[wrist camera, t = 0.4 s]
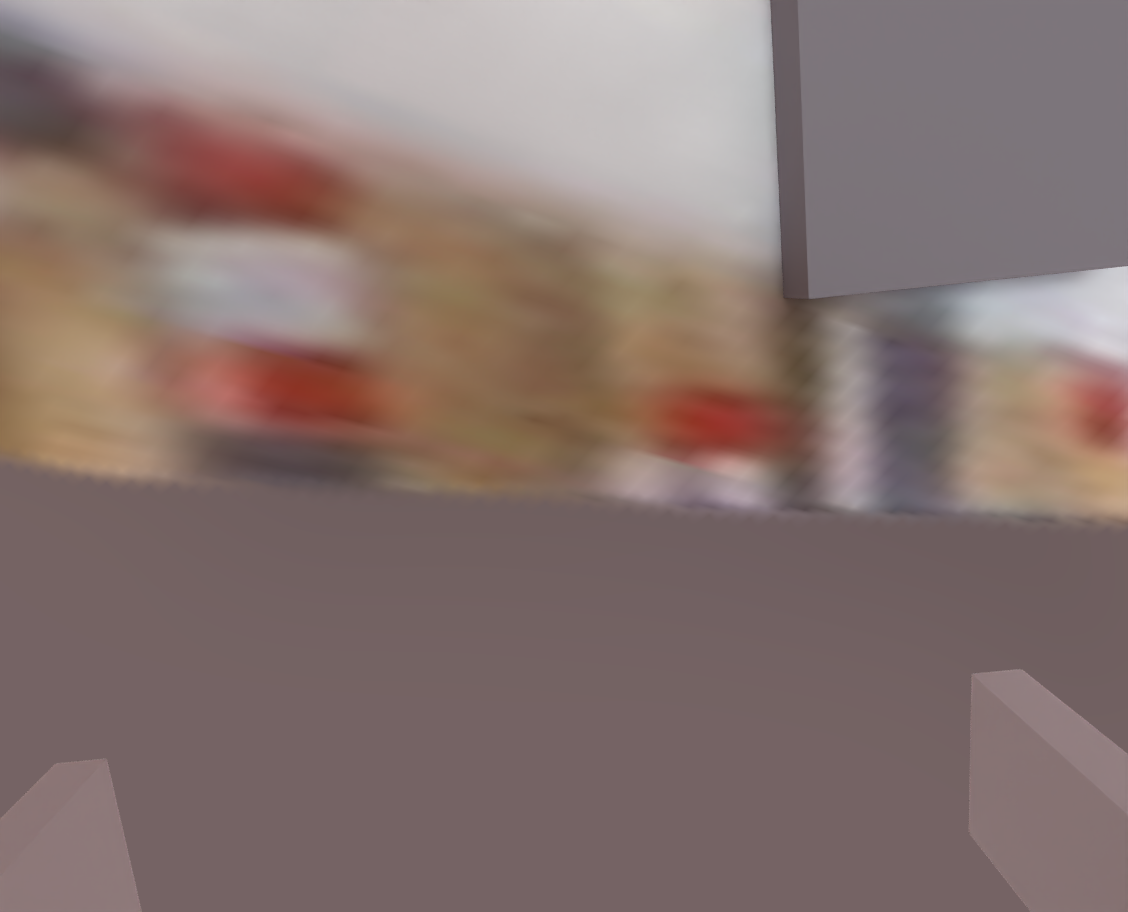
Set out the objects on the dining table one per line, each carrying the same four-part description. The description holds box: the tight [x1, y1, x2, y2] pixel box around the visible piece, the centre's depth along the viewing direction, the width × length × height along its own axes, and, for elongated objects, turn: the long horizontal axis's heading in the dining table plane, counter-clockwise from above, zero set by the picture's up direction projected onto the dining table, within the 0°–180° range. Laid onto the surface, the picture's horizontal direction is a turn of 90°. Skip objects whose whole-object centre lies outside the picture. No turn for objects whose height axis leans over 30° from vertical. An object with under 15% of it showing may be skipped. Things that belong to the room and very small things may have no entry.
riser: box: [770, 0, 1128, 299], centre depth 35 cm, size 14×14×4 cm
